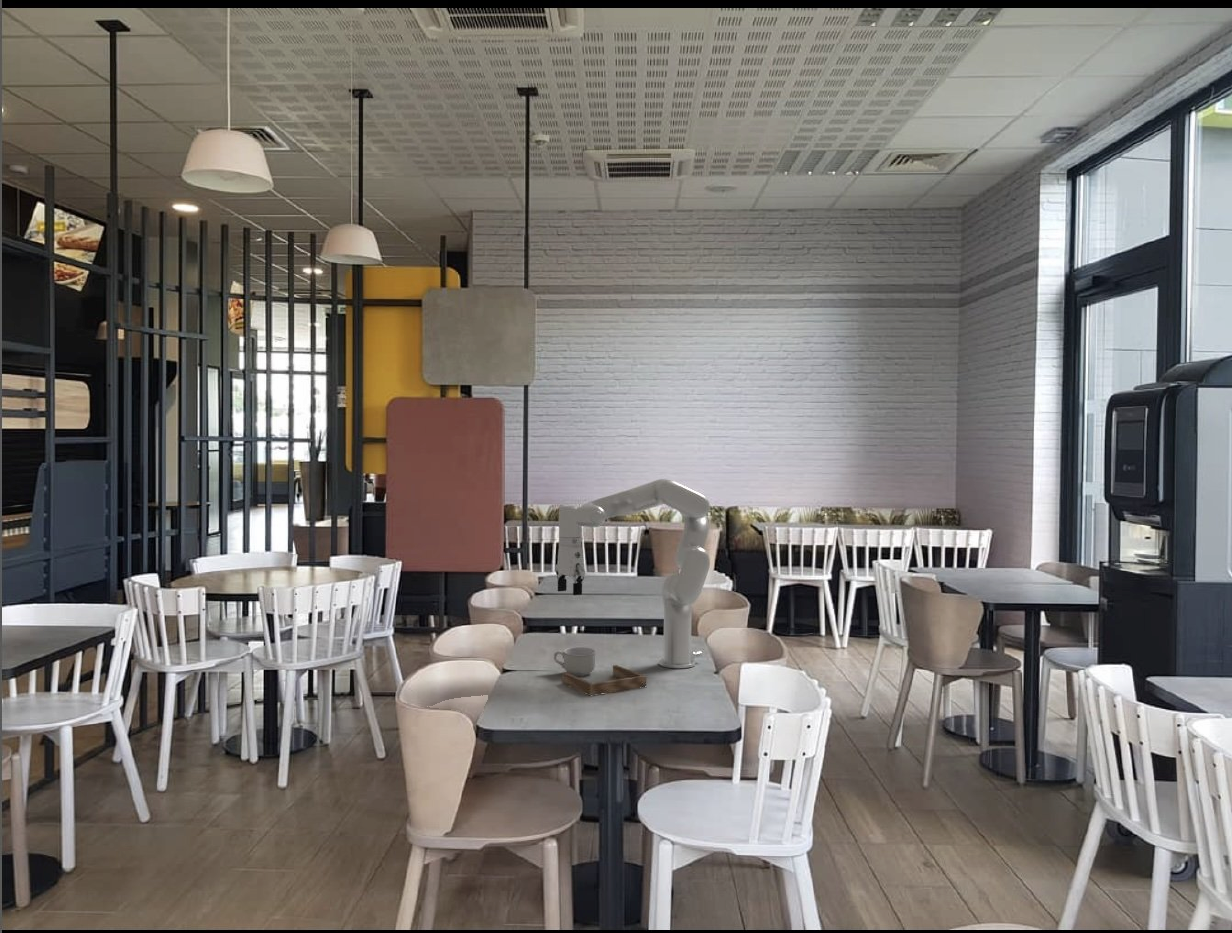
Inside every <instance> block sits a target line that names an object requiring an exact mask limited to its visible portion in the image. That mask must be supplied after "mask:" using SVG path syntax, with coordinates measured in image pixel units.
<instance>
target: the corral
mask: <svg viewBox="0 0 1232 933" xmlns="http://www.w3.org/2000/svg"><path fill="white" fill-rule="evenodd" d="M612 677H615V678H616V677H617V679H612V680H605V681H599V682H590V681H588V680H586V679H583V678H581V677H579V676H573V675H571V674H569V672H567V671H566V672H561V679H562V680H561V684H562V683H563V684H562V685H564V684H565V686H566V687H569V686H570V687H569V688H571V687H572V688H571V689H574V690H576V691H578V692H581V693H583V694H585V693H587V694H590V695H595V694H601V693H607V694H612V693H611V692H614V693H619V692H618V691H620V692H625V691H624V690H626V691H631V690H630V689H633V690H636V689H635V688H639V689H641V688H640V687H645V686H646V687H647V675H644V674H641V673H639V672H636V671H634V670H630V669H627V668H625V667H622V666H619V665H617V664H614V665H612ZM646 687H645V688H646ZM587 694H586V695H587ZM590 695H589V696H590ZM601 695H602V694H601ZM595 696H596V695H595Z"/></svg>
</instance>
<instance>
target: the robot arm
mask: <svg viewBox="0 0 1232 933" xmlns="http://www.w3.org/2000/svg"><path fill="white" fill-rule="evenodd" d="M661 505H666V506H668V507H670V508H672V509H674V510H676V511H678V512H679V513H680V514H681V516H682V518H683V523H684V524H683V525H684V526H683V530H682V531H683V532H682V536H681V538H680V541H679V544H678V547H677V550H676V553H675V555H674V563H675V565H676V567H677V568H678V569H679V570H680V571H679V573H671V574H669V575H668V576H666V578H665V579H664V581H663V584H662V589H661V590H662V591H661V592H662V599H663V600H662V601H663V658H661V659H659V660H658V665H660V666H661V667H665V668H668V669H669V668H670V669H688V668H693V667H694V666H696V660H695V658H700V657H702V656H703V653H702V651H693V650H692V605H693V604H695V603H696V602H697V601H698V599H699V598H700V596H701V593H702V592H703V589H704V585H705V583H706V579H707V576H708V573H709V570H710V563H711V561H710V560H711V559H710V555H709V554H708V552H707V551H706V549H705V545H706V542H707V540H708V539H707V538H708V535H709V530H710V527H709V524H710V523H709V518H708V513H709V512H710V509H711V508H710V507H711V506H710V502H709V499H708V498H707V497H706V496H705V495H703V494H702V493H700V492H698V491H695V490H693V489H691V488H689V487H687V486H685V485H682V484H680V483H678V481H677V482H676V481H674V480H671V479H665V478H664V479H663V478H661V479H656V480H653V481H651V482H647V483H645V484H642V485H638V486H636V487H632V488H630V489H627V490H624V491H620V492H617V493H614V494H610V495H607V496H604V497H601V498H597V499H594V500H592V501H589V502H586V503H584V504H582V505H581V506H579V505H572V504H567V505H566V504H565V505H562V506H560V507H559V509H558V552H557V564H555V566H554V568H555V574H556V579H557V591H558V592H566V591H567V584H568V583H567V582H568V581H567V577H569V578H570V577H571V578H572V580H573V583H572V587H573V588H572V595H573V596H581V595H582V594H583V583H584V579H585V575H586V570H585V568H584V567H585V566H584V565H585V564H584V552H583V547H582V527H585V528H600V527H601V526H602V525H603V524H604V523H605V521H606V520H607V519H611V518H615V517H619V516H632V515H636V514H638V513H641V512H644V511H647V510H649V509H652V508H656V507H659V506H661Z"/></svg>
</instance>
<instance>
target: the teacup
mask: <svg viewBox="0 0 1232 933" xmlns="http://www.w3.org/2000/svg"><path fill="white" fill-rule="evenodd" d="M596 652H597V650H596V649H594V648H591V647H586V646H571V647H568V648H565V649H564V650H563V651H562V650H557V651H555V652H554V654H553V660H554V661H555V662H556V663H557V664H559V665H560V666H561V668H563V669H565V671H566V673H569V674H571V675H573V676H576V677H585V675H586V676H588V675H589V674H591V673H592V672H593V671H594V670H595V668H596V667H595V666H596ZM558 655H561V656H562V659H563V662H562V661H560V660H559V659H558Z"/></svg>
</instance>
